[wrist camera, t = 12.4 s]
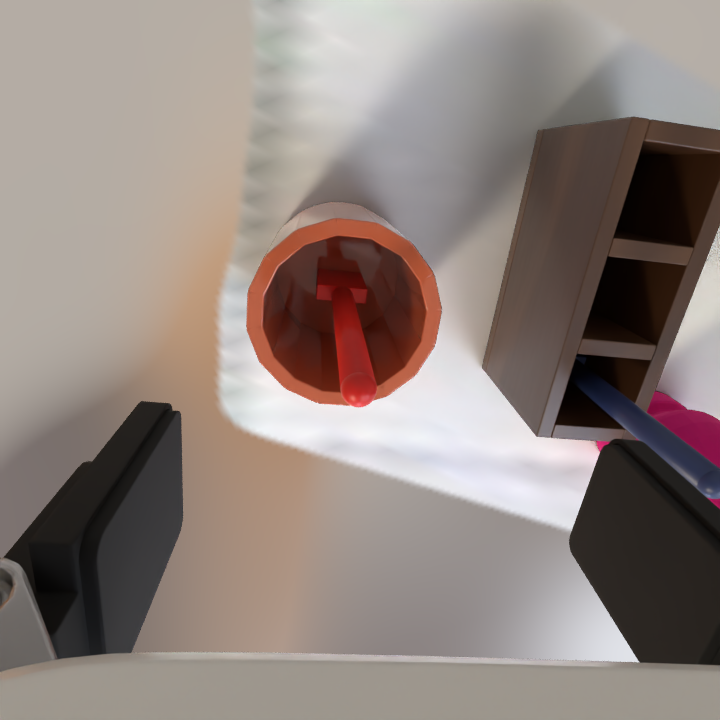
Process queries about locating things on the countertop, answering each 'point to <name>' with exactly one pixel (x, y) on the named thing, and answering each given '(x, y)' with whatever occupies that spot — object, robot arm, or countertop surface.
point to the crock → (315, 317)
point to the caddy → (602, 267)
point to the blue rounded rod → (648, 430)
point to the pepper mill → (686, 427)
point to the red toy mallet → (349, 333)
